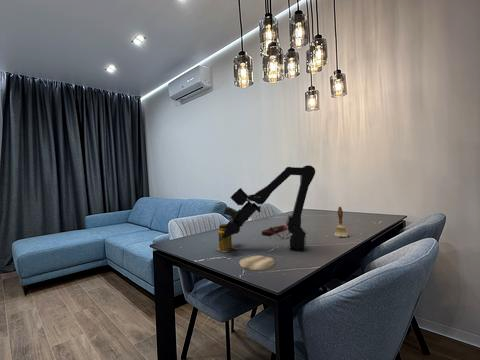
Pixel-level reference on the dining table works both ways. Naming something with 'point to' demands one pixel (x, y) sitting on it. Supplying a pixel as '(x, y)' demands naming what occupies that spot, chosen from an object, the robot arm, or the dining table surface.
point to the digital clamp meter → (275, 231)
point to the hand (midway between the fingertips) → (223, 236)
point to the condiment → (224, 240)
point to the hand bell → (340, 225)
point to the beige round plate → (256, 262)
